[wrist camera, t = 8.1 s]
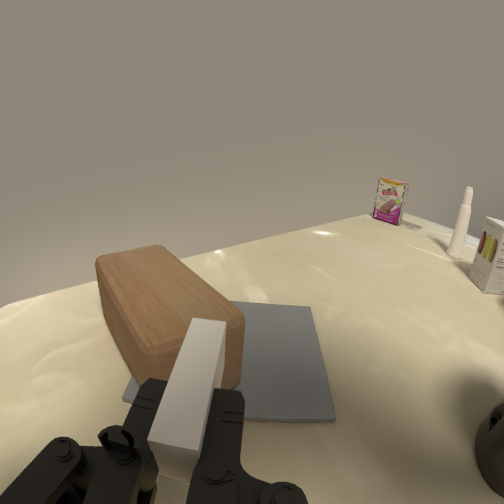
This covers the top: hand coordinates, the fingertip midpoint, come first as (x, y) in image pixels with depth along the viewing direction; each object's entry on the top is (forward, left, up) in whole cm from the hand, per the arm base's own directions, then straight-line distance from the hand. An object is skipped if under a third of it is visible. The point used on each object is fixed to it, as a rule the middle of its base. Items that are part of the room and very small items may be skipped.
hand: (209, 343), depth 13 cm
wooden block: (+2, -8, -11) cm, 14 cm away
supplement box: (-62, -42, -17) cm, 77 cm away
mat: (0, -19, -16) cm, 25 cm away
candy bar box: (-52, -95, -17) cm, 110 cm away
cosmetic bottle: (-64, -63, -17) cm, 92 cm away
